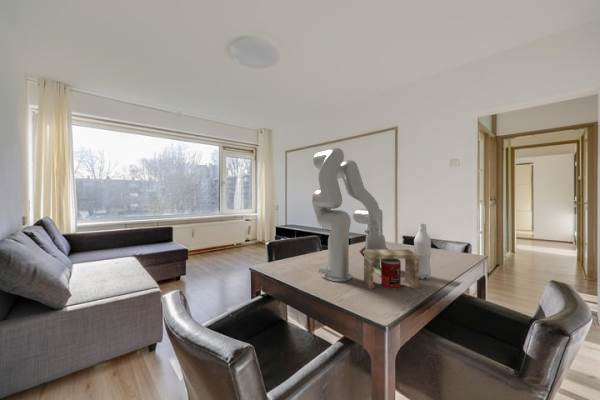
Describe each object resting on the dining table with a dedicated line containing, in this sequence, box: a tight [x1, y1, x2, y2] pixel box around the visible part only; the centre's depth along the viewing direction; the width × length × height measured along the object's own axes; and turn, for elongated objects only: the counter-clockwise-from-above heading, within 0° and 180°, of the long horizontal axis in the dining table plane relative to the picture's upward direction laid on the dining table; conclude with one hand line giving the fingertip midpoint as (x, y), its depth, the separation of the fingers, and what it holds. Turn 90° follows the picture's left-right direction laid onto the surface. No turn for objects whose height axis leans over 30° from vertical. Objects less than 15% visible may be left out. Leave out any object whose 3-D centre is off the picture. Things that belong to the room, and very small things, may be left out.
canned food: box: [380, 259, 402, 290], centre depth 105 cm, size 8×8×11 cm
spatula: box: [373, 259, 381, 279], centre depth 121 cm, size 4×20×7 cm, turn 179°
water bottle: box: [413, 223, 432, 280], centre depth 115 cm, size 7×7×25 cm
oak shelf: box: [363, 249, 420, 290], centre depth 106 cm, size 20×10×14 cm, turn 89°
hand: (375, 265), depth 129 cm, fingers open, 7 cm apart
